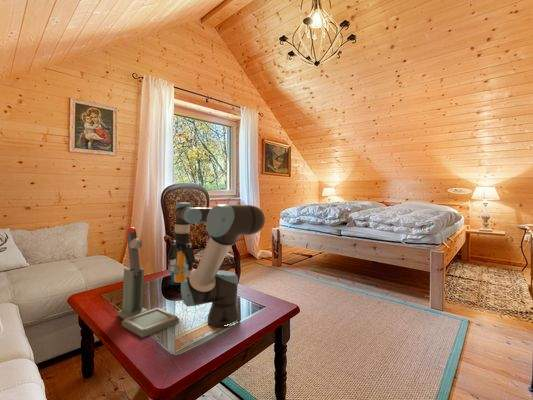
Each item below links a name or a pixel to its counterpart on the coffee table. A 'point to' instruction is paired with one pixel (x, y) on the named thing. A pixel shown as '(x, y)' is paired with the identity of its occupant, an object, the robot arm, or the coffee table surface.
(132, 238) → the press lever
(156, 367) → the coffee table surface
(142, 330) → the press frame
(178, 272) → the cylinder
